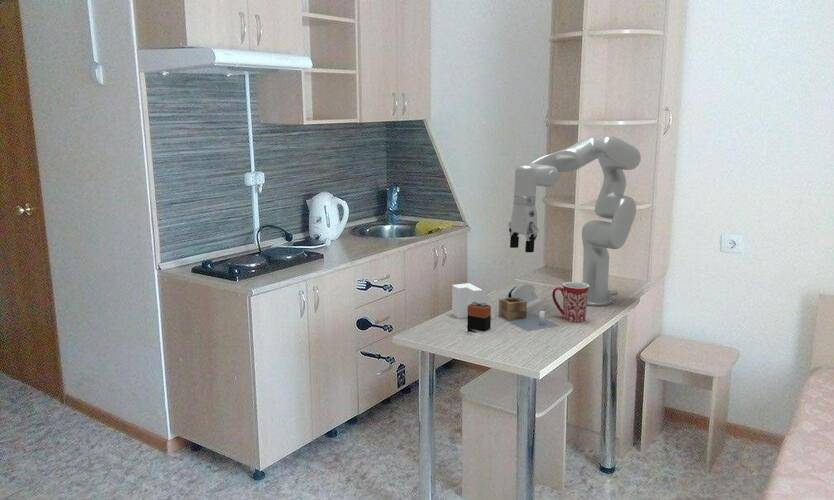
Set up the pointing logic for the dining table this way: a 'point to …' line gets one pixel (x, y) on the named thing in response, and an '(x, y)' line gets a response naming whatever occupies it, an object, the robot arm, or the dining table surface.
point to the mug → (573, 301)
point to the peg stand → (532, 322)
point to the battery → (479, 317)
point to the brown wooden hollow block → (512, 308)
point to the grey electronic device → (524, 294)
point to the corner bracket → (468, 299)
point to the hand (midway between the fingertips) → (521, 249)
